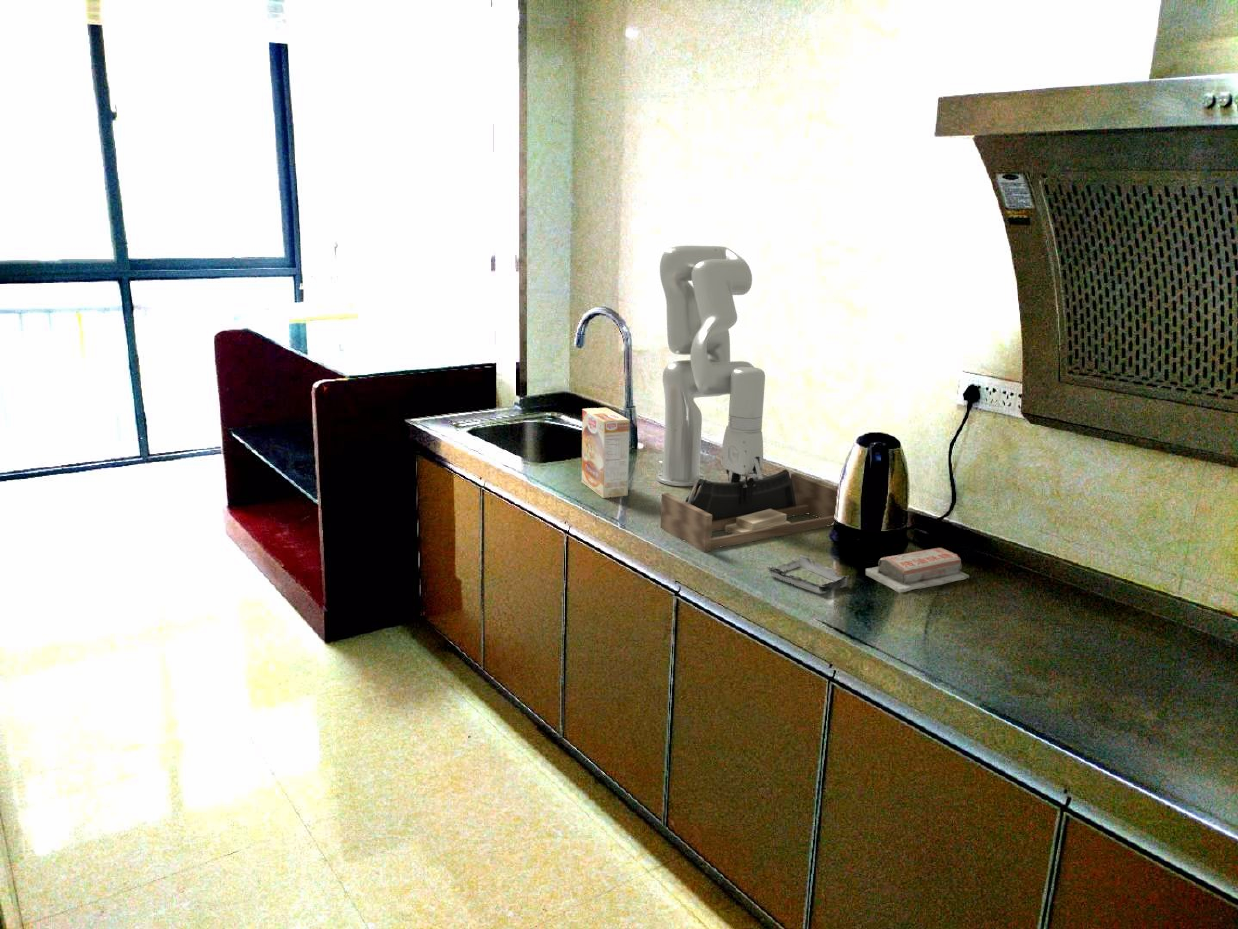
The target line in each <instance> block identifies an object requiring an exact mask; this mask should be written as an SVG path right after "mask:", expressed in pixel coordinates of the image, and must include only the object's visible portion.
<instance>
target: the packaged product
mask: <svg viewBox="0 0 1238 929" xmlns="http://www.w3.org/2000/svg"><path fill="white" fill-rule="evenodd" d="M962 566H963V565H962V562H961V558H960V556H959V555H958V554H957V553H954V552H952V551H950V550H947V549H945V548H943V547H935V548H930V549H924V550H917V551H912V552H907V553H901V554H897V555H891V556H890V555H889V556H883V557H881V558H880V559H879V560H878V566H875V567H873V566H872V567H868V568H865V576H867V577H868V578H871V579H873V580H875V581H877V582H878V583H880V584H882V585H884V586H885V587H888V588H890V589H892V590H894V591H895V592H897V593H899V594H901V593H906V592H909V591H912V590H917V589H918V590H920V589H925V588H929V587H934V586H940V585H945V584H948V583H953V582H956V581H964V580H966V579H967V578H968V579H970V575H969V574H967V573H965V572H963V571H961V569H962ZM968 579H967V580H968Z"/></svg>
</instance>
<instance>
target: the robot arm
mask: <svg viewBox="0 0 1238 929" xmlns="http://www.w3.org/2000/svg"><path fill="white" fill-rule="evenodd" d="M659 263H660V264H659V276H660V281H661V282H660V283H661V285H662V288H663V292H664V296H665V302H666V331H667V332H666V333H667V334H666V336H667V345H668V348H669V350H670V352H671V353H673V354H675V355H683V356H685V355H686V356H690V357H689V359H686V360H677V361H676V360H675V361H673V362H670V363H669V364H667V365H666V366H665V368H663V372H662V384H663V385H662V386H663V394H664V406H665V407H664V440H663V443H664V444H663V459H662V460H661V459H660V460H659V461H658V465H659V466H661V471H660V472H658V473H657V474H656V480H657V481H658V482H660V483H661V484H664V485H668V486H675V487H694V485H695V484H696V485H697V483H698V480H699V479H703V480H705V481H706V477H705V474H702V473H701V472H700V466H701V465H700V462H701V446H702V445H701V442H702V426H703V424H702V423H703V419H702V418H703V417H702V411H701V409H700V407H698V404H696V402H695V400H694V399H696V398H708V397H711V398H712V397H720V396H723V395H729V403H728V421H727V423H728V425H726V427H725V431H724V435H723V441H722V445H721V446H722V448H721V454H720V455H721V456H720V465H721V467H722V468H723V469H725V470H724V471H726V474H727V480H728V481H727V482H728V483H729V482H742V486H743V487H740V502H739V503H740V504H742V505H743V504H749V503H752V496H753V487H755V484H756V483H757V482H758V481H761V480H762V479H763V478H764V477H763V473H762V472H763V464H764V439H763V431H762V429H763V414H764V398H765V387H766V386H765V385H766V375H765V371H764V370H763V369H761V368H759V367H755V366H754V365H753V364H752V363H750V362H748V361H743V360H741V361H739V360H738V361H731V342H730V341H731V338H730V332H729V330H730V329H731V328H732V327H733V326H734V325H736V323H737V321H738V314H737V310H736V305H735V301H734V297H733V296H743V295H746V294H748V292H749V291H750V290H751V288H752V284H753V274H752V271H751V270H752V269H751V268H750V266H749V264H748V262H747V261H746V260H745V259H744V258H742V256H740V255H739V254H738V253H736V252H734V251H733V250H732V249H730V248H729V247H726V246H722V245H721V246H720V245H719V246H718V245H677V246H672V247H670V248H667V249H666V250H665V251H664V252H663V254H662V255H661V259H660V262H659ZM690 282H692V284H691V283H690ZM748 477H749V478H748ZM741 480H742V481H741Z"/></svg>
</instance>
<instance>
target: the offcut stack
mask: <svg viewBox="0 0 1238 929" xmlns="http://www.w3.org/2000/svg"><path fill="white" fill-rule="evenodd" d="M790 523H791V522H790V521H787V514H784V513H781V512H778V511H775V510H772V509H767V510H763V511H760V512H756V513H752V514H748V515H744V516H741V517H737V519H736V523H734V524H729V525H725V529H724V532H726V531H727V532H726V533H728V532H729V533H728V534H730V535H731V534H737V533H742V532H747V531H752V530H758V529H763V528H768V527H774V526H779V525H784V524H790Z"/></svg>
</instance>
